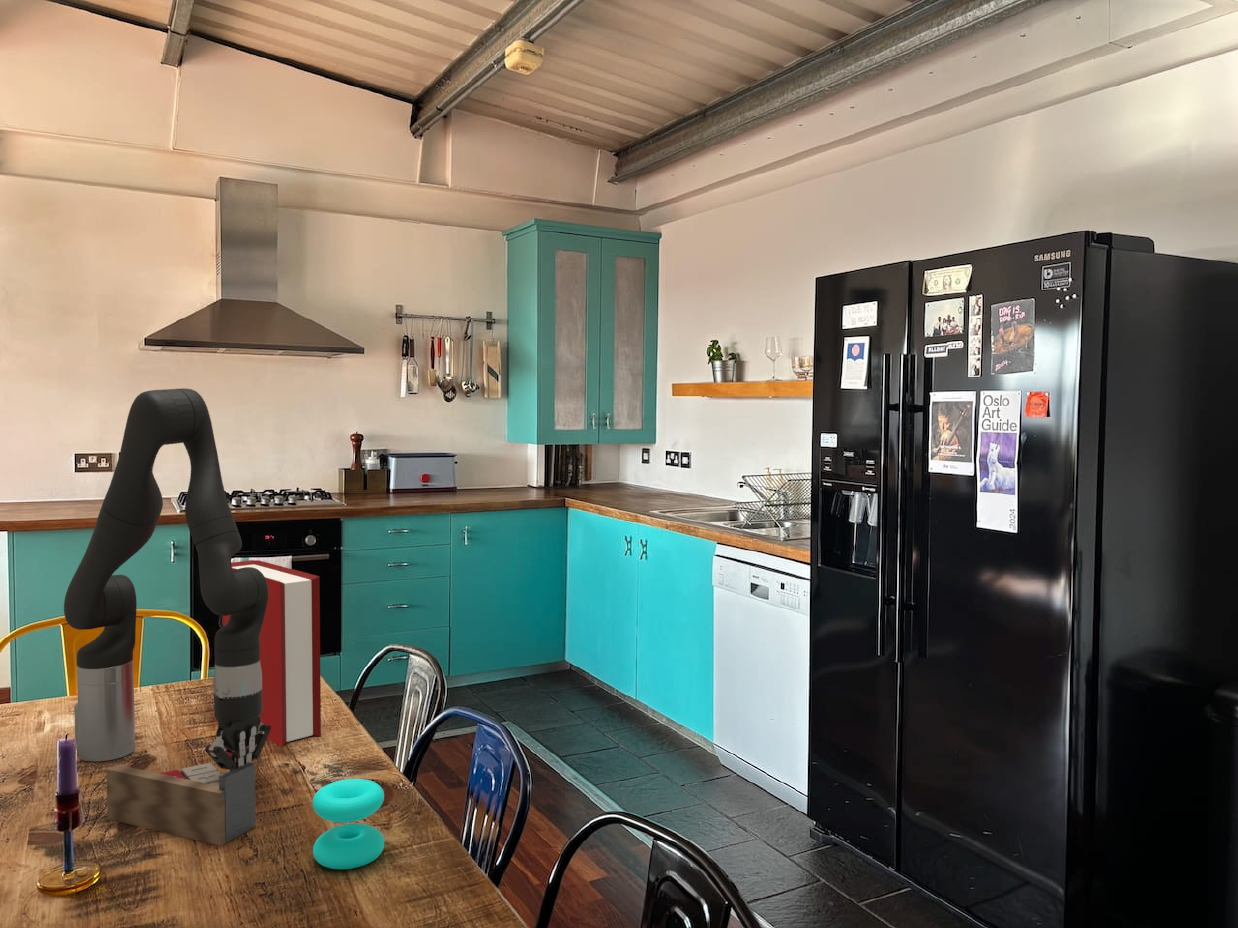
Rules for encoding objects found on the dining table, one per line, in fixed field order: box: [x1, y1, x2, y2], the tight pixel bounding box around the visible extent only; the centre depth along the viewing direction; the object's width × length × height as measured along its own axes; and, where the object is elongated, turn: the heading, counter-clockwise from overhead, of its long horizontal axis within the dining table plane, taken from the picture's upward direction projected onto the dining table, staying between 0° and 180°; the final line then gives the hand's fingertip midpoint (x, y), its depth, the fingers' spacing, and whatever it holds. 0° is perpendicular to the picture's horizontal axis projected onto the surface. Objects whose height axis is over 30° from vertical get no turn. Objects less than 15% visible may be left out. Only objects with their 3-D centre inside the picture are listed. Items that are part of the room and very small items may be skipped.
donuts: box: [312, 778, 385, 870], centre depth 136 cm, size 10×10×10 cm
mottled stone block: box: [105, 764, 227, 847], centre depth 147 cm, size 23×7×8 cm, turn 68°
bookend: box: [219, 763, 257, 844], centre depth 143 cm, size 1×6×10 cm, turn 158°
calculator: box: [159, 762, 223, 786], centre depth 155 cm, size 11×4×15 cm
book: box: [222, 559, 322, 748], centre depth 191 cm, size 27×8×32 cm, turn 46°
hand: (240, 789), depth 158 cm, fingers closed
